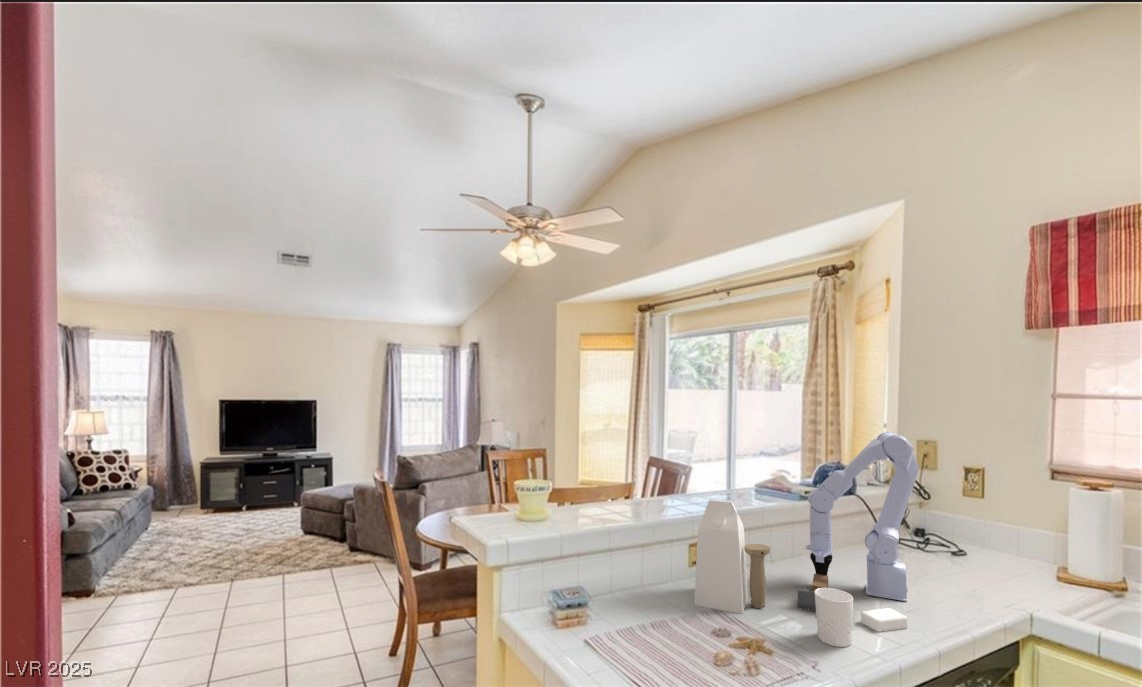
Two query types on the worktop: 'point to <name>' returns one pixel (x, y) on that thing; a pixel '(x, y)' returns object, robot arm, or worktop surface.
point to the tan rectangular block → (819, 581)
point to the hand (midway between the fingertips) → (821, 581)
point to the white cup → (834, 616)
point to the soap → (884, 619)
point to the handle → (757, 573)
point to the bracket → (806, 599)
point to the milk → (721, 559)
